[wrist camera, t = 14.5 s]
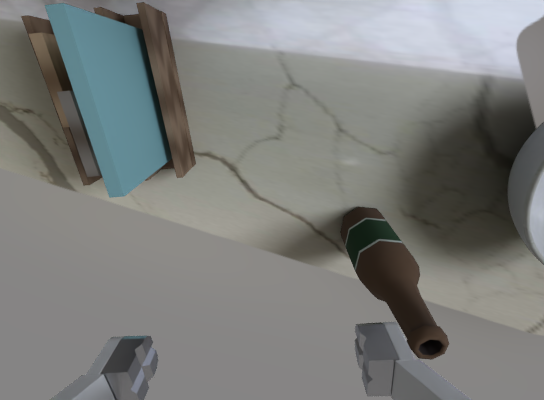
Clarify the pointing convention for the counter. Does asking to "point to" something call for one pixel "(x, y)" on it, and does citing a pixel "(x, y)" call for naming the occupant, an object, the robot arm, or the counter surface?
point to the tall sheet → (113, 94)
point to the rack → (164, 79)
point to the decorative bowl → (529, 193)
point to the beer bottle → (392, 278)
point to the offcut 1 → (52, 68)
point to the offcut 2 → (79, 132)
